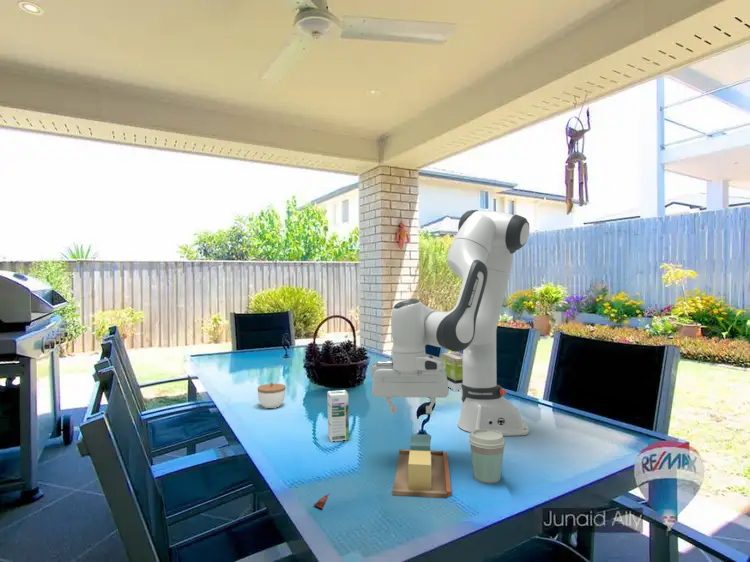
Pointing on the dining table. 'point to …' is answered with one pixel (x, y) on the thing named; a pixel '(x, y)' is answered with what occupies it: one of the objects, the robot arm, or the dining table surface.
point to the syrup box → (338, 415)
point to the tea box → (453, 369)
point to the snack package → (322, 501)
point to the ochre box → (419, 470)
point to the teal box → (420, 442)
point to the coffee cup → (487, 454)
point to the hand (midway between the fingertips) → (411, 413)
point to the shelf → (438, 476)
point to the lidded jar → (271, 395)
